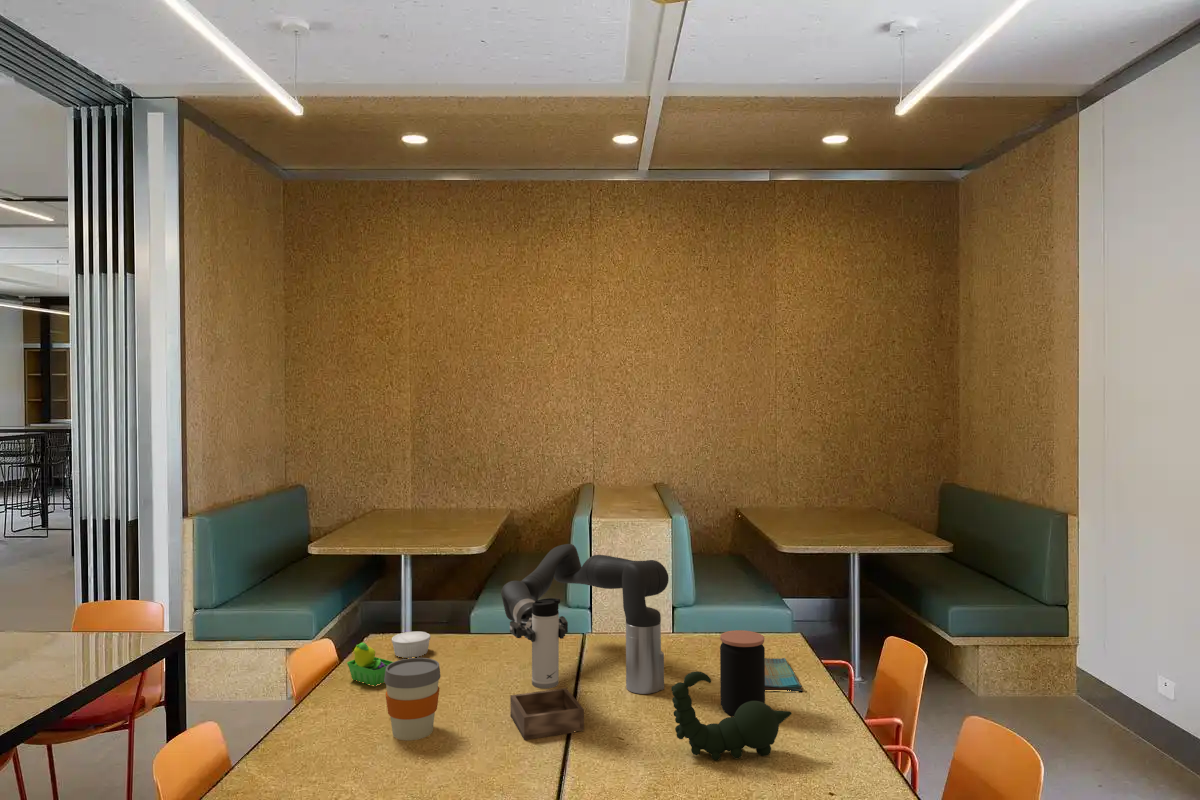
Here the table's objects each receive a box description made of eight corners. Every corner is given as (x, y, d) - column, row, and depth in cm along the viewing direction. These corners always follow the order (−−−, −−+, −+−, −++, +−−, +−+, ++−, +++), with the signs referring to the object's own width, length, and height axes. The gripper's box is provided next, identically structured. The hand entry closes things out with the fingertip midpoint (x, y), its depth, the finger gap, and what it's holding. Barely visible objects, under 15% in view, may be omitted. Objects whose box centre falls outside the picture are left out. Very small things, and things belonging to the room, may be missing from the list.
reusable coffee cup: (391, 748, 168) (390, 679, 168) (379, 727, 179) (379, 662, 179) (447, 736, 174) (447, 670, 174) (432, 716, 185) (432, 654, 185)
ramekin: (384, 657, 229) (384, 639, 229) (406, 646, 239) (406, 629, 239) (415, 662, 225) (415, 644, 225) (437, 650, 235) (437, 633, 235)
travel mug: (556, 690, 177) (556, 603, 177) (528, 687, 178) (528, 601, 178) (562, 680, 183) (563, 596, 183) (536, 678, 185) (536, 594, 185)
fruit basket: (396, 680, 210) (396, 639, 210) (370, 691, 202) (370, 648, 202) (367, 673, 216) (367, 632, 216) (341, 682, 208) (341, 641, 208)
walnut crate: (566, 708, 190) (566, 687, 190) (584, 731, 176) (583, 709, 176) (510, 716, 185) (510, 695, 185) (524, 740, 172) (524, 717, 172)
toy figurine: (681, 773, 159) (801, 761, 159) (672, 682, 160) (792, 670, 160) (676, 752, 169) (789, 741, 169) (668, 666, 169) (781, 655, 169)
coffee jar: (769, 706, 190) (768, 633, 190) (759, 722, 181) (758, 645, 181) (727, 699, 195) (726, 628, 195) (715, 715, 185) (714, 640, 185)
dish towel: (736, 693, 200) (736, 684, 200) (726, 663, 223) (726, 654, 223) (803, 695, 199) (803, 685, 199) (786, 664, 222) (786, 655, 222)
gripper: (558, 628, 197) (577, 648, 181) (502, 634, 192) (517, 655, 176) (558, 599, 197) (577, 616, 181) (502, 604, 192) (517, 622, 176)
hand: (547, 635), depth 179 cm, fingers closed on travel mug, 6 cm apart
